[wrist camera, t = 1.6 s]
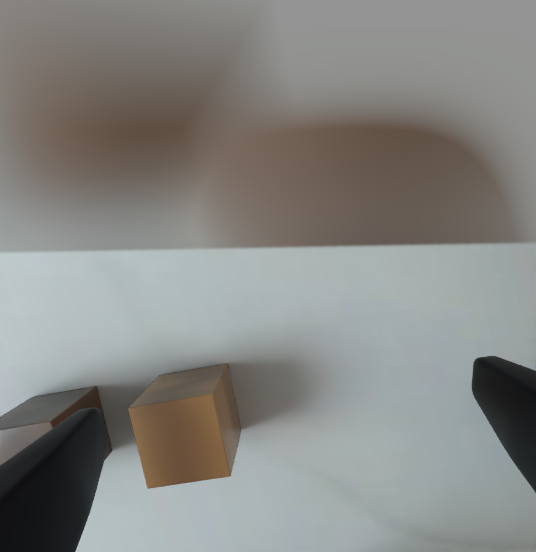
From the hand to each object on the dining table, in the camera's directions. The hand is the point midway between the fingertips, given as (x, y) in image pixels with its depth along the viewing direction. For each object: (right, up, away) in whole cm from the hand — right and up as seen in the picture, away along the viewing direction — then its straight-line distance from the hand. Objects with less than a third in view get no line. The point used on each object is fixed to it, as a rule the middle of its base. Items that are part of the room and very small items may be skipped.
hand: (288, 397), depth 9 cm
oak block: (-5, -6, +17) cm, 19 cm away
